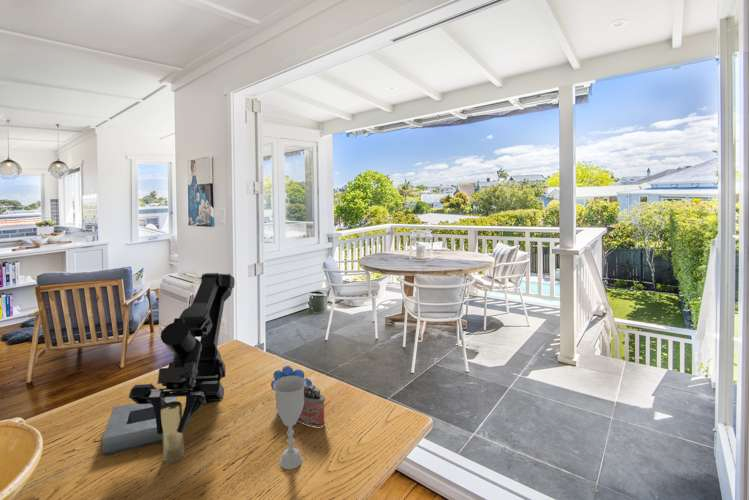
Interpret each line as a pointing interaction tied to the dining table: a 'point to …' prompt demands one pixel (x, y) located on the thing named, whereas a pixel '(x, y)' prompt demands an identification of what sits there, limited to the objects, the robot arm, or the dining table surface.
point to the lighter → (312, 407)
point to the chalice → (290, 414)
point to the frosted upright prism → (172, 432)
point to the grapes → (289, 372)
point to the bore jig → (131, 427)
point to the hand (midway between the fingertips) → (169, 433)
